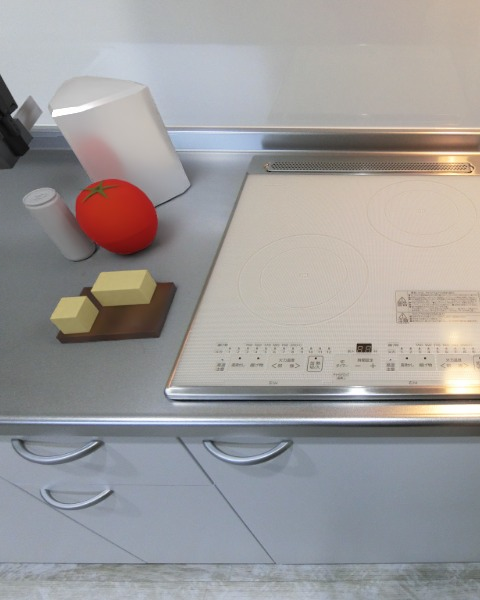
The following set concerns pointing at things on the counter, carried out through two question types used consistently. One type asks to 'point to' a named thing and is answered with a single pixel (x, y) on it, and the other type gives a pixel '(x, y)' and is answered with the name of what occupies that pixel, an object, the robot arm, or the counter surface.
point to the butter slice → (74, 315)
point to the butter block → (124, 288)
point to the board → (126, 318)
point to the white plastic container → (119, 134)
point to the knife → (25, 118)
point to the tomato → (117, 216)
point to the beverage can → (59, 223)
